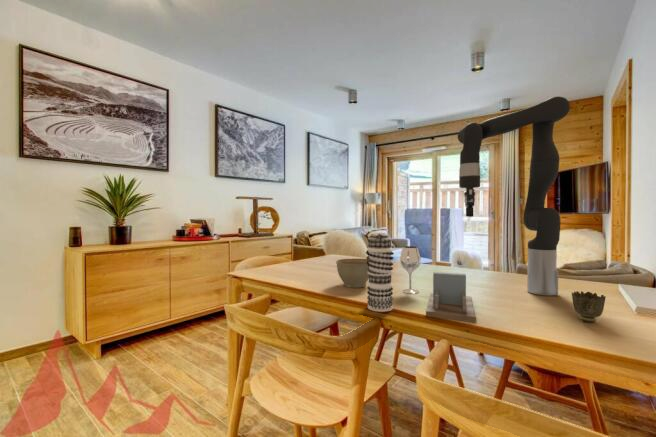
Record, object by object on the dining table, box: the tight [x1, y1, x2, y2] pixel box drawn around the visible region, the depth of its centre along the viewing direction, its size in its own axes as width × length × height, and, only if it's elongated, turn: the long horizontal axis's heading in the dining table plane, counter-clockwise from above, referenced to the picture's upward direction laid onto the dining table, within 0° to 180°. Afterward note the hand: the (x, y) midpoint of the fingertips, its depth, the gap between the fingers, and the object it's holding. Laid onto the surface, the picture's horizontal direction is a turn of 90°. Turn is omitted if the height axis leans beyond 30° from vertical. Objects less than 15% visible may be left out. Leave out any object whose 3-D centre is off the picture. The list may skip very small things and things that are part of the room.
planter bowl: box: [335, 258, 369, 289], centre depth 132 cm, size 16×16×11 cm
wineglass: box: [399, 245, 422, 295], centre depth 121 cm, size 8×8×18 cm
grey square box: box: [432, 271, 467, 306], centre depth 100 cm, size 2×10×10 cm, turn 68°
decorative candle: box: [365, 232, 395, 313], centre depth 101 cm, size 9×9×25 cm
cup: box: [571, 290, 607, 324], centre depth 87 cm, size 8×7×8 cm
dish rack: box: [425, 290, 477, 323], centre depth 100 cm, size 22×14×6 cm, turn 158°
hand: (469, 216), depth 119 cm, fingers open, 8 cm apart
